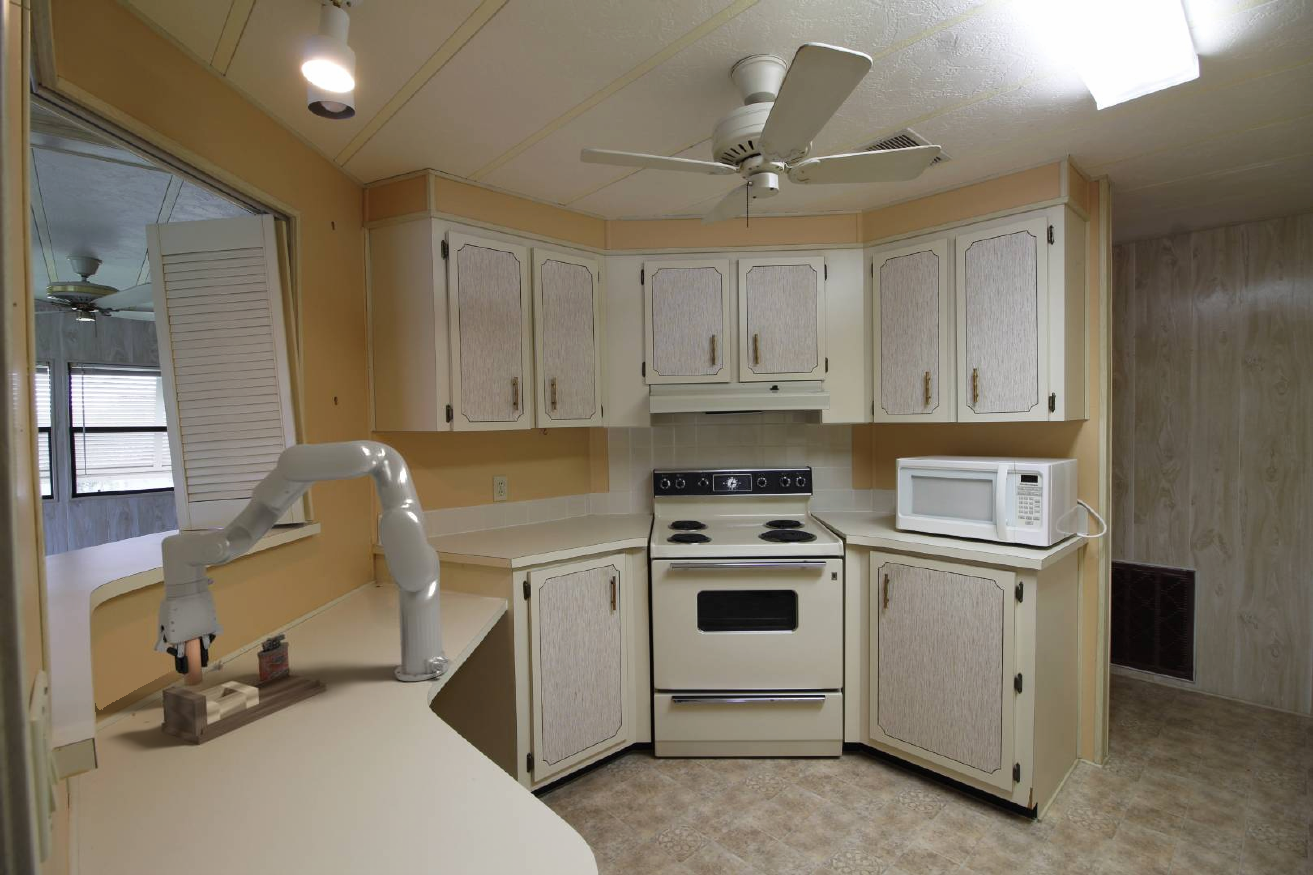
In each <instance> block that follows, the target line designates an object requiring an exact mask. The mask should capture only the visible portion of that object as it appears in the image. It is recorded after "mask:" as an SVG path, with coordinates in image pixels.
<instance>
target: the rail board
mask: <svg viewBox="0 0 1313 875" xmlns="http://www.w3.org/2000/svg"><path fill="white" fill-rule="evenodd" d="M250 686H252V687H255V688H258V695H259V704H257V705H255V706H252V707H250V708H247V709H245V710H242V711H240V712H238V713H235V714H233V715H230V716H228V717H225V718H223V719H221V720H218V721H216V722H213V723H211V724H208V725H207V705H206V696H204V695H200V694H197V693H198V692H194V691H190V690H187V689H184V688H181V687H178V686H174V685H173V686H171V687H168V688H165V689H162V703H163V722H162V723H161V730H162V732H165V733H167V734H170V735H173V736H174V737H175V736H176V737H178V738H180V739H183V740H185V741H188V742H191V743H194V744H196V745H199V746H200V745H203V744H205V743H207V742H209V741H212V740H214V739H216V738H219V737H221V736H223V735H226V734H228V733H231V732H232V731H235V730H237V729H240V728H242V727H243V726H246V725H249V724H251V723H254V722H256V721H258V720H261V719H263V718H265V717H267V716H270V715H271V714H273V713H276V712H279V711H282V710H283V709H285V708H288V707H290V706H292V705H295V704H297V703H299V702H301V701H304V700H307V699H309V698H310V697H313V696H316V695H318V694H320V693H322V692H325V691H326V690H327V683H326V682H321V681H320V680H319V679H316V680H313V679H309V678H305V677H302V676H298V675H294V674H290V673H288V672H285V673H283V674H280V675H278V676H275V677H272V678H270V679H267V680H265V681H262V682H259V681H258V682H257V683H255V684H251V685H250Z"/></svg>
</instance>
